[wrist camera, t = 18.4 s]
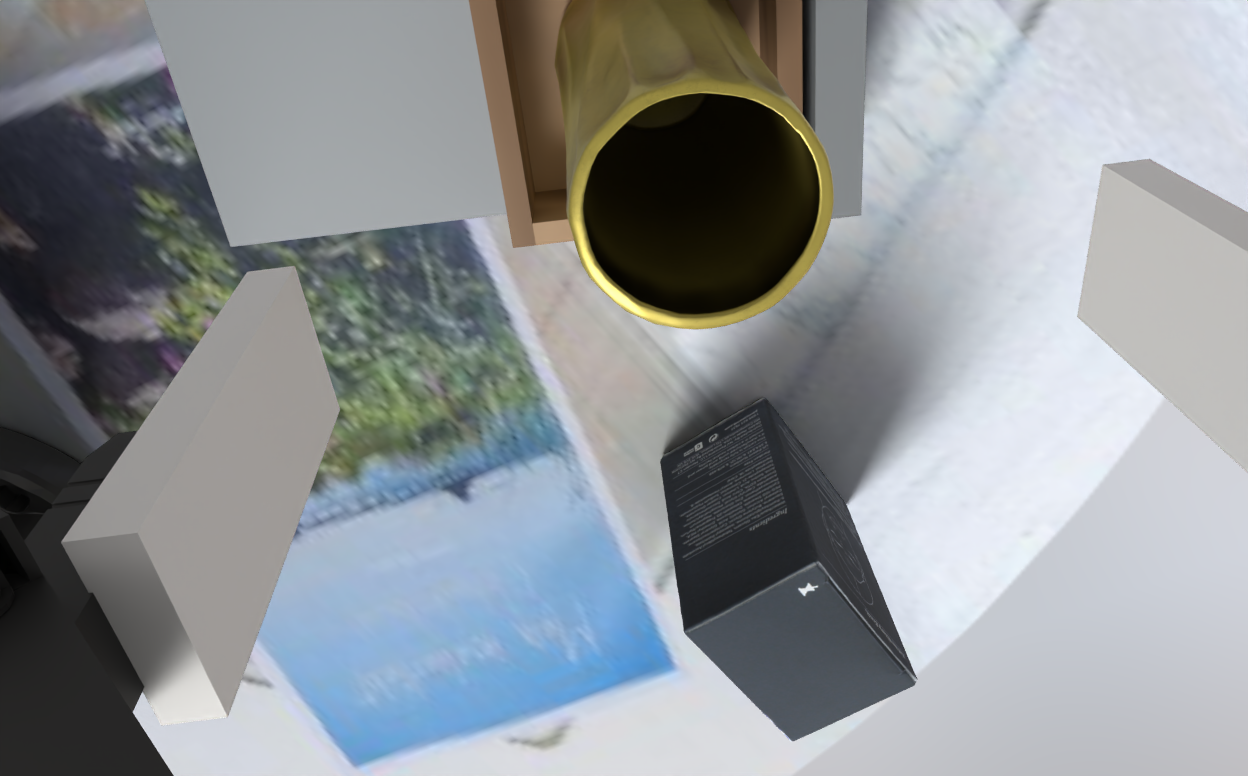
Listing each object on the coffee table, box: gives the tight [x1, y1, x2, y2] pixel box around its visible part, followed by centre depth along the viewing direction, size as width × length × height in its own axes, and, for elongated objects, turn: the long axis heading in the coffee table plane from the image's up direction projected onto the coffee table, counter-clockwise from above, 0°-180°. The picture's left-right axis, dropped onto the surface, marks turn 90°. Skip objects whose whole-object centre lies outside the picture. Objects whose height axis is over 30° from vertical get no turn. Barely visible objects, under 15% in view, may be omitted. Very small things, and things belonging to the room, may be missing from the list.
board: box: [145, 0, 868, 247], centre depth 30 cm, size 22×10×5 cm, turn 96°
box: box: [660, 398, 917, 741], centre depth 38 cm, size 8×6×11 cm
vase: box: [554, 0, 834, 329], centre depth 24 cm, size 6×6×14 cm
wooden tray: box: [469, 0, 803, 248], centre depth 29 cm, size 10×10×4 cm
